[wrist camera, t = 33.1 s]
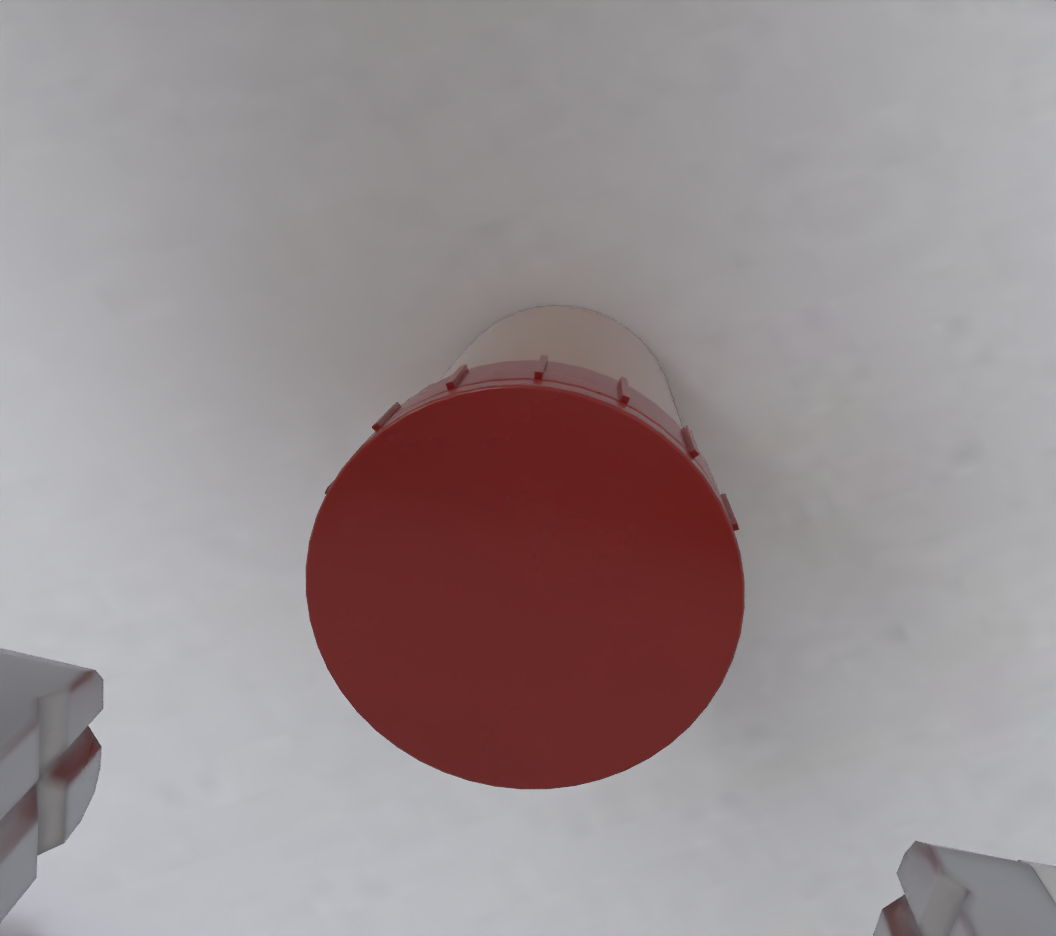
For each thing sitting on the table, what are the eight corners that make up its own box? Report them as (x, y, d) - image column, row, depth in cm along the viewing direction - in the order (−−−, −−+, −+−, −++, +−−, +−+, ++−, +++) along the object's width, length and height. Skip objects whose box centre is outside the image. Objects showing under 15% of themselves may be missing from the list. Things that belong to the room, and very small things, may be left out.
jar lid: (796, 623, 14) (824, 687, 12) (467, 774, 16) (448, 852, 14) (609, 280, 13) (609, 294, 11) (266, 476, 14) (217, 517, 12)
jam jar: (400, 383, 22) (258, 517, 13) (595, 258, 21) (589, 310, 12) (523, 565, 23) (472, 805, 14) (715, 456, 22) (794, 642, 13)
